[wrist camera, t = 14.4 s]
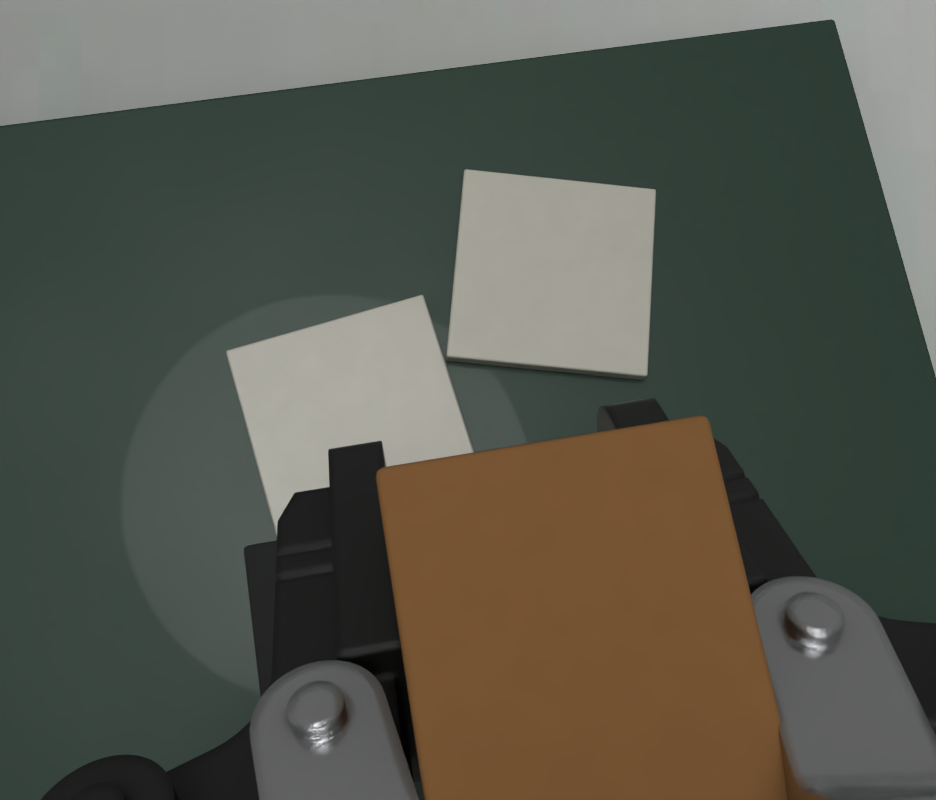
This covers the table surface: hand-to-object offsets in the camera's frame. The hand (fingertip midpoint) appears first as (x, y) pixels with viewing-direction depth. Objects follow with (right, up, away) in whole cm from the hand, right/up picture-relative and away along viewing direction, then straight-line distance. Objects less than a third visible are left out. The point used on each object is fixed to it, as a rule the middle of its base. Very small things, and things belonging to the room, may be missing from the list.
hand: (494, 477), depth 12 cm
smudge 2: (+1, +4, +6) cm, 7 cm away
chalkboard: (-1, 0, +6) cm, 6 cm away
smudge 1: (-3, +1, +5) cm, 6 cm away
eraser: (0, -3, +4) cm, 5 cm away
